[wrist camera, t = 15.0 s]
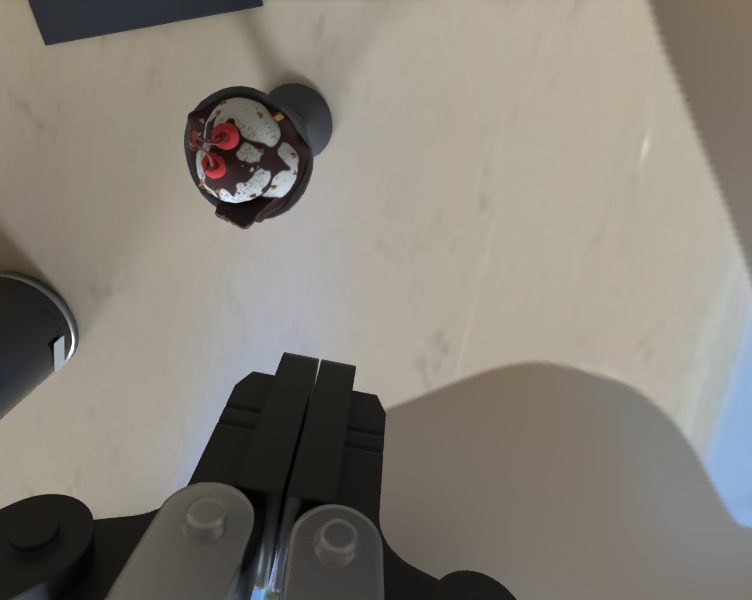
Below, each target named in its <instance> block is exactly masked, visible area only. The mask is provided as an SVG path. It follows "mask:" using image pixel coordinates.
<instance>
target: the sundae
mask: <svg viewBox="0 0 752 600" xmlns="http://www.w3.org/2000/svg"><path fill="white" fill-rule="evenodd" d="M331 133H332V118H331V113H330V111H329V108H328V106H327V104H326V103H325V101H324V100H323V98H322V97H321V96H320V95H319V94H318V93H316V92H315V91H314V90H313V89H311V88H309V87H306V86H304V85H300V84H285V85H282V86H280V87H277V88H276V89H274V90H273V91H271V92H270V93H269V95H267V94H265V93H263V92H261V91H259V90H257V89H254V88H250V87H244V86H236V87H229V88H225V89H221V90H219V91H217V92H215V93H213V94H211V95H210V96H209V97H207V98H206V99H204V100H203V101H201V102H200V104H199V105H198V106H197V107H196V108H195V110H194V111H192V112H190V113H189V115H188V121H187V125H186V130H185V136H184V148H185V155H186V159H187V164H188V167H189V171H190V174H191V176H192V178H193V180H194V182H195V184H196V186H197V188H198V189H199V191H200V192H201V194H202V195H203V196H204V197H205V198H206V199H207V200H208V201H209V202H210V203H211V204H212V205H214V206H215V207H217V208H216V212H215V215H216V216H217V217H219V218H221V219H223V220H224V221H226V222H228V223H230V224H233V225H236V226H238V227H240V228H242V229H248V228H249V227H250V226H251V225H252V224H253V223H254V222H258V223H259V222H262V221H263V220H264V219H270V218H274V217H277V216H279V215H281V214H283V213H285V212H287V211H289V210H290V209H291V208H292V207H293V206H294V205H295V204H296V203H297V202H298V200H299V199H300V198H301V196H302V195H303V194H304V192H305V190H306V188H307V185H308V183H309V180H310V177H311V174H312V170H313V157H315V156H316V155H318V154H320V153H321V152H322V151H323V149H324V148H325V147H326V146H327V144H328V142H329V140H330V137H331Z"/></svg>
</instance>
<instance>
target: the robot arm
mask: <svg viewBox="0 0 752 600" xmlns="http://www.w3.org/2000/svg"><path fill="white" fill-rule="evenodd" d="M77 345H78V330H77V326H76V322H75V320H74V318H73V316H72V314H71V312H70V310H69V309H68V307H67V306H66V304H65V303H64V302H63V301H62V300H61V299H60V298H59V297H58V295H56V294H55V293H54V292H53V291H52V290H51V289H49V288H48V287H47V286H45V285H44V284H42V283H40V282H39V281H37V280H35V279H33V278H30V277H28V276H25V275H22V274H18V273H12V272H0V420H1V419H2V418H3V417H4V416H5V415H6V414H7V413H9V412H10V411H11V410H12V409H13V408H14V407H15V406H16V405H17V404H19V403H20V402H21V401H22V400H23V399H24V398H25V397H26V396H27V395H28V394H30V393H31V392H32V391H33V390H34V389H35V388H36V387H37V386H39V385H40V384H41V383H42V382H43V381H44V380H45V379H46V378H47V377H49V376H50V375H51V374H52V373H53V372H54V371H55V372H57V371H58V370H59V369H60V368H61V367H62V366H63V365H64V364H65V363H66V362H67V361H68V360H69V359H70V358H71V357H72V356H73V354H74V353H75V351H76V349H77ZM318 363H319V359H317V358H312V357H307V356H302V355H296V354H291V353H286V352H284V353H283V356H282V358H281V361H280V363H279V366H278V369H277V371H276V374H275V376H274V375H269V374H264V373H259V372H254V371H253V372H252V373H250V374H249V375H248V376H246V377H245V378H244V379H242V380H241V381H240V382H239V383H237V384H236V385H235V387H234V389H233V391H232V393H231V395H230V397H229V399H228V401H227V404H226V407H225V408H224V410H223V412H222V414H221V416H220V418H219V422H218V423H217V425H216V427H215V429H214V431H213V433H212V435H211V437H210V439H209V442H208V444H207V446H206V448H205V450H204V452H203V454H202V456H201V458H200V461H199V463H198V465H197V467H196V469H195V471H194V473H193V475H192V477H191V480H190V481H189V483H188V485H187V487H184V488H182V489H180V490H178V491H177V492H175V493H174V494H172V495H171V496H170V497H169V498H168V499H167V500H166V501H165V502H164V503H163V505H162V506H161V507H160V508H159V509H156V510H154V511H151V512H148V513H145V514H141V515H135V516H127V517H117V518H107V519H97V520H93V516H92V513H91V512H90V510H89V508H88V507H87V506H86V505H85V504H84V503H82V502H81V501H79V500H78V499H75V498H73V497H70V496H66V495H59V494H45V495H38V496H33V497H30V498H26V499H23V500H21V501H18V502H15V503H13V504H11V505H9V506H7V507H4V508H2V509H0V600H250V599H251V595H252V592H253V589H259V590H264V591H267V587H268V583H269V579H270V575H271V571H272V567H273V563H274V559H275V555H276V551H277V556H276V562H275V568H274V574H273V580H272V586H271V591H272V592H277V593H280V595H279V600H516V598H515V597H514V596H513V595H512V594H511V593H510V592H509V591H508V590H507V589H506V588H505V587H504V586H503V585H501V584H500V583H499V582H498V581H496V580H494V579H493V578H491V577H489V576H487V575H484V574H482V573H478V572H474V571H467V570H466V571H456V572H452V573H450V574H447V575H446V576H444V577H443V578H441V579H440V580H438V579H436V578H434V577H432V576H430V575H428V574H426V573H424V572H422V571H420V570H419V569H416V568H415V567H413V566H411V565H410V564H408V563H406V562H405V561H404V560H402V559H401V558H400V557H399V556H397V554H396V553H395V552H394V551H393V550H392V549H391V548H390V546H389V545H388V544H387V542H386V540H385V538H384V536H383V534H382V531H381V528H380V523H379V509H380V495H381V479H382V464H383V448H384V433H385V431H384V430H385V417H386V413H385V411H384V409H383V407H382V405H381V403H380V401H379V399H378V397H377V395H373V394H368V393H363V392H358V391H353V390H352V389H353V383H354V377H355V370H356V366H353V365H348V364H343V363H338V362H333V361H328V360H323V359H322V360H321V364H320V368H319V372H318V376H317V379H316V375H317V369H318ZM315 381H316V383H315ZM314 386H315V387H314ZM278 543H279V544H278ZM277 547H278V550H277Z"/></svg>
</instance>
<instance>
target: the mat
mask: <svg viewBox="0 0 752 600" xmlns="http://www.w3.org/2000/svg"><path fill="white" fill-rule="evenodd" d="M28 1H29V3H30V6H31V9H32V11H33V14H34V17H35V19H36V22H37V24H38V27H39V30H40V32H41V35H42V38H43V40H44V43H45V45H51V44H56V43H62V42H68V41H73V40H79V39H84V38H90V37H95V36H101V35H106V34H112V33H117V32H123V31H128V30H134V29H139V28H145V27H150V26H156V25H161V24H167V23H172V22H178V21H183V20H189V19H194V18H200V17H205V16H211V15H216V14H222V13H227V12H233V11H239V10H244V9H250V8H255V7H261V6H263V3H262V0H28Z"/></svg>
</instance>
